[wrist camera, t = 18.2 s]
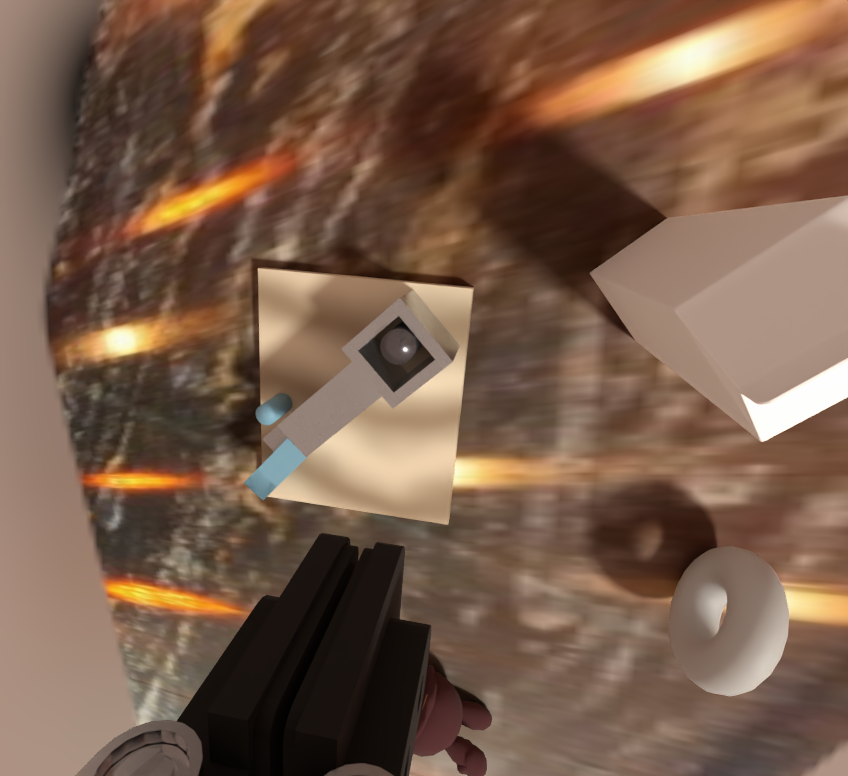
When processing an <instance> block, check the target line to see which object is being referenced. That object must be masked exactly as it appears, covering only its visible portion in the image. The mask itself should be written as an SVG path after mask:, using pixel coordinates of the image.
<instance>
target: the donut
mask: <svg viewBox="0 0 848 776" xmlns="http://www.w3.org/2000/svg"><path fill="white" fill-rule="evenodd" d="M726 604H727V609H726V615H725V618H724V621H723V624H722V626H721V627H720V629H719V622H720V617H721V614H722V611H723V609H724V607H725V605H726ZM788 624H789V610H788V605H787V600H786V595H785V591H784V588H783V586H782V584H781V582H780V580H779V578H778V576H777V574H776V573H775V571H774V570H773V569H772V567H771V566H770V565H769V564H768V563H766V562H765V561H764V560H763V559H762V558H761V557H759V556H758V555H757V554H755V553H754V552H752V551H749V550H745V549H741V548H737V547H733V546H723V547H718V548H714V549H710V550H708V551H706V552H705V553H703V554H702V555H700V556H699V557H697V558H696V559H695V560H694V561H693V562H692V563H691V564H690V565H689V566H688V568H687V569H686V570H685V571H684V573H683V575H682V577H681V579H680V580H679V582H678V584H677V586H676V589H675V592H674V595H673V598H672V601H671V607H670V613H669V638H670V643H671V647H672V651H673V654H674V657H675V659H676V660H677V662H678V664H679V666H680V667H681V669H682V671H683V672H684V674H685V675H686V676H687V677H688V678H689V679H690V680H692V681H693V682H694V683H696V684H697V685H698V686H699V687H701V688H702V689H704V690H705V691H707V692H711V693H715V694H721V695H726V696H734V695H739V694H742V693H745V692H748V691H751V690H753V689H754V688H756V687H757V686H758V685H759V684H760V683H761V682H763V681H764V680H765V679H766V678H767V677H768V676H770V675H771V673H772V671H773V670H774V668H775V667H776V665H777V663H778V662H779V660H780V658H781V657H782V653H783V650H784V647H785V643H786V640H787V637H788Z"/></svg>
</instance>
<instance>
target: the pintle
mask: <svg viewBox="0 0 848 776" xmlns="http://www.w3.org/2000/svg"><path fill="white" fill-rule="evenodd" d="M421 346H422V343H421V342H420V341H419V339H418V338H417V337H416V336H415V335H414V333H413V332H412V331H411V330H410V329H409V327H408V326H407V325H406V324H405V323H404V321H402V322H401V323H399V324H398V325H397V326H396V327H394V328H393V329H392V330H391V331H389V332H388V333H387V334H386V335H385V336H384V337H383V338H382V340H381V344H380V349H381V353H382V355H383V357H384V358H385V359H386V360H387V361H388V362H390V363H392V364H396V365H400V364H404V363H406V362H408V361H409V360H410V359H411V358H412V357H413V356H414V354H415V353H416V352H417V351H418V349H419V348H420V347H421Z"/></svg>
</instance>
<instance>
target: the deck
mask: <svg viewBox="0 0 848 776" xmlns="http://www.w3.org/2000/svg"><path fill="white" fill-rule="evenodd" d="M413 290H415V292H416V293H417V294H418V295H419V296H420V298H421V299H422V300H423V301H424V302H425V304H426V305H427V306H428V307H429V309H430V310H431V311H432V312H433V313H434V315H435V316H436V317H437V318H438V320H439V321H440V322H441V323H442V324H443V326H444V327H445V328H446V329H447V330H448V332H449V333H450V334H451V335H452V337H453V338H454V339H455V340H456V341H457V343H458V344H459V345H460V347H459V349H458V351H457V354H456V356H455V358H454V360H453V362H452V363H451V364H449V365H448V366H447V367H446V368H444V369H443V370H442V371H440V372H439V373H438V374H437V375H435V376H434V377H433V378H432V379H430V380H429V381H428V382H426V383H425V384H424V385H423V386H421V387H420V388H419V389H418V390H416V391H415V392H414V393H412V394H411V395H410V396H409V397H407V398H406V399H405V400H404V401H402V402H401V403H400V404H398V405H397V406H396V407H395V408H393V409H392V407H391V406H390V405H389V404H388V403H387V402H386V400H385V399H384V398H383V397H381V398H379V399H378V400H377V401H376V402H374V403H373V404H372V405H371V406H369V407H368V408H367V409H366V410H364V411H363V412H362V413H361V414H359V415H358V416H357V417H356V418H354V419H353V420H352V421H351V422H349V423H348V424H347V425H346V426H344V427H343V428H342V429H341V430H339V431H338V432H337V433H336V434H334V435H333V436H332V437H331V438H329V439H328V440H327V441H326V442H325V443H323V444H322V445H321V446H320V447H318V448H317V449H316V450H315V451H313V452H312V453H311V454H310V455H309V456H308V457H307V458H306V459H305V460H304V461H303V462H302V463H301V464H300V465H299V466H298V467H297V468H296V469H295V470H294V471H293V472H292V473H291V474H290V475H289V476H288V477H287V478H286V479H285V480H284V481H282V482H281V483H280V484H279V485H278V486H277V487H276V488H275V489H274V490H273V491H272V492H271V493H270V494H269V495H268V497H275V498H281V499H287V500H294V501H300V502H307V503H313V504H319V505H326V506H332V507H339V508H345V509H351V510H358V511H364V512H371V513H377V514H383V515H390V516H396V517H403V518H409V519H415V520H422V521H428V522H435V523H441V524H447V525H448V522H449V517H450V508H451V499H452V489H453V480H454V470H455V461H456V451H457V442H458V432H459V423H460V413H461V404H462V395H463V385H464V376H465V366H466V357H467V347H468V338H469V328H470V319H471V310H472V300H473V291H474V287H467V286H456V285H446V284H435V283H425V282H414V281H404V280H393V279H383V278H372V277H362V276H351V275H340V274H330V273H319V272H309V271H298V270H288V269H277V268H267V267H264V268H258V297H259V347H260V397H261V405H262V404H263V403H265V402H266V401H268V400H269V399H271V398H272V397H274V396H275V395H277V394H279V393H285V394H287V395H288V396H289V397H290V398H291V400H292V408H291V409H290V410H289V411H288V412H287V413H285V414H284V415H283V416H282V417H280V418H279V419H278V420H276V421H275V422H274V423H273V424H271V425H263V424H261V447H262V464H263V463H264V462H265V461H266V460H267V459H268V458H269V457H270V456H271V455H272V454H273V453H274V452H273V450H272V449H271V448H270V447H269V446H268V445H267V444H266V443H265V442H264V441H263V438H264V437H265V436H266V435H268V434H269V433H270V432H271V431H272V430H273V429H275V428H276V427H277V425H278V424H280V423H281V422H282V421H283V420H284V419H285V418H287V417H288V416H289V415H290V414H291V413H293V412H294V411H295V410H296V409H297V408H298V407H300V406H301V405H302V404H303V403H304V402H305V401H307V400H308V399H309V398H310V397H311V396H313V395H314V394H315V393H316V392H317V391H318V390H320V389H321V388H322V387H323V386H324V385H325V384H327V383H328V382H329V381H330V380H331V379H332V378H334V377H335V376H336V375H337V374H338V373H340V372H341V371H342V370H343V369H344V368H345V367H347V366H348V365H349V364H350V363H351V362H352V361H351V360H350V359H349V357H348V356H347V355H346V354H345V353H344V352H343V350H342V349H341V348H343V347H344V346H345V345H346V344H347V343H348V342H350V341H351V340H352V339H353V338H354V337H355V336H356V335H358V334H359V333H360V332H361V331H362V330H363V329H364V328H366V327H367V326H368V325H369V324H370V323H371V322H372V321H374V320H375V319H376V318H377V317H378V316H379V315H381V314H382V313H383V312H384V311H385V310H386V309H387V308H389V307H390V306H391V305H392V304H393V303H394V302H395V301H397V300H398V299H399V298H400V297H402V296H404V295H406V294H407V293H409V292H411V291H413ZM402 321H403V320H402V319H401V318H400V317H399V318H398V319H397V320H396V321H394V322H393V323H392V324H391V325H390V326H389V327H387V328H386V329H385V330H384V331H383V332H381V333H380V334H379V335H378V336H377V337H378V338H379V340H380V341H381V340H382V338H383V337H384V336H385V335H386V334H387V333H388V332H389V331H391V330H392V329H393V328H394V327H396V326H397V325H398V324H399V323H401V322H402ZM430 355H431V354H430V353H429V351H428V350H427V349H426V348H425V347H424V345H423V344H422V346H421V347H420V348H419V349H418V351H417V352H416V353H415V354H414V356H413V357H412V358H411V359H410V360H409V361H408V362H406V363H404V364H401V366H402V367H403V368H404V369H405V370H406V372H407V373H409V372H410V371H412V370H413V369H414V368H415V367H417V366H418V365H419V364H420V363H422V362H423V361H424V360H425V359H427V358H428V357H429V356H430Z"/></svg>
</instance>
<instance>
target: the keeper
mask: <svg viewBox="0 0 848 776" xmlns="http://www.w3.org/2000/svg"><path fill="white" fill-rule="evenodd" d="M291 408H292V400H291V398H290V397H289V396H288V395H287V394H285V393H279V394H277V395H275V396H274V397H272V398H271V399H269V400H268V401H266V402H265V403H263V404H262V405H261V406H259V407H258V408H257V410H256V418H257V420H258V421H259V422H260V423H261V424H263V425H271V424H273V423H274V422H275V421H276V420H278V419H279V418H280V417H282V416H283V415H284V414H285V413H287V412H288V411H289V410H290V409H291ZM308 456H309V455H308ZM308 456H307V457H308ZM307 457H305V456H304V455H303V454H302V453H301V451H300V450H299V449H298V448H297V447H296V446H295V445H294V444H293V443H292V441H291V440H290V439H289V438H287V439H286V440H285V441H284V442H283V443H282V444H281V445H280V446H279V447H278V449H277V450H276V451H275V452H274V453H273V454H272V455H271V456H270V457H269V458H268V459H267V460H266V461H265V462H264V463H263V464H262V465H261V466H260V467H259V468H258V469H257V470H256V471H255V472H254V473H253V474H252V475H251V476H250V477H249V478H248V479H247V480H246V481H245V482H244V483H245V484H246V485H247V486H248V487H249V488H250V489H251V490H252V491H253V492H254V493H255V494H256V495H258V496H259V497H260V498H261V499H262V500H264V499H265V498H266V497H267V496H268V495H269V494H270V493H271V492H272V491H273V490H274V489H275V488H276V487H277V486H278V485H279V484H280V483H281V482H282V481H284V480H285V479H286V478H287V477H288V476H289V475H290V474H291V473H292V472H293V471H294V470H295V469H296V468H297V467H298V466H299V465H300V464H301V463H302V462H303V461H304V460H305V459H306V458H307Z"/></svg>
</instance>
